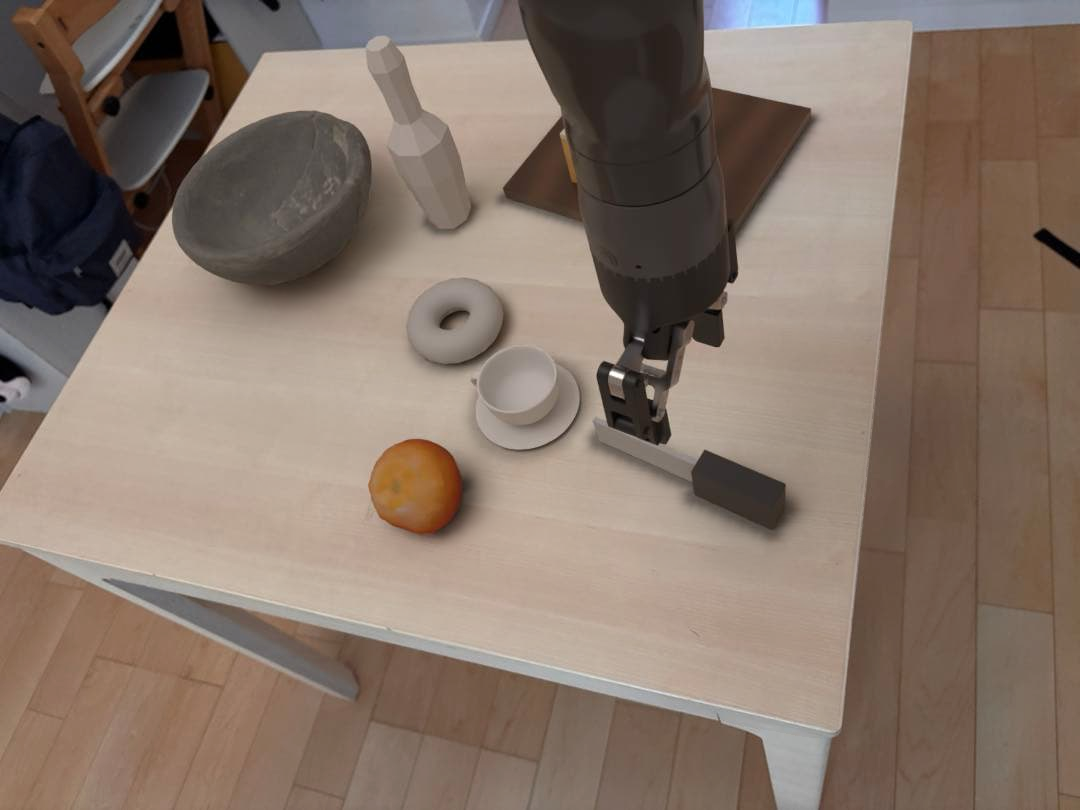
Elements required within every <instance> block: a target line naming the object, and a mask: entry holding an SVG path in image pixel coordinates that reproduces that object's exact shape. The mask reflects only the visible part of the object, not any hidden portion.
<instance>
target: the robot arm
mask: <svg viewBox="0 0 1080 810" xmlns="http://www.w3.org/2000/svg"><path fill="white" fill-rule="evenodd" d="M515 1H516V5H517V9H518V13H519V17H520V20H521V24H522V27H523V30H524V33H525V35H526V38H527V41H528V43H529V46H530V48H531V51H532V53H533V55H534V57H535V60H536V63H537V65H538V67H539V68H540V70H541V73H542V75H543V77H544V79H545V80H546V83H547V86H548V87H549V89H550V92H551V94H552V96H553V97H554V99H555V100H556V102H557V104H558V105H559V107H560V115H561V116H562V120H563V125H564V129H565V134H566V138H567V142H568V146H569V150H570V154H571V158H572V162H573V166H574V170H575V174H576V178H577V186H578V199H579V207H580V212H581V216H582V220H583V222H582V223H583V228H584V231H585V235H586V239H587V243H588V246H589V251H590V254H591V258H592V262H593V265H594V270H595V273H596V276H597V281H598V285H599V289H600V292H601V295H602V297H603V299H604V300H605V302H606V303H607V305H608V306H609V307H610V309H611V310H612V311H613V312H614V313H615V314H616V315H617V317H618V318H619V319H620V320H621V322H622V323H623V335H622V345H623V348H624V350H623V352H622V354H621V355H620V357H619V358H618V360H617V361H616V363H613V362H609V361H606V360H603V361H601V362H600V364H599V366H598V368H597V371H596V376H595V377H596V382H597V386H598V389H599V395H600V399H601V404H602V407H603V412H604V416H605V421H607V424H608V427H610V428H613V429H616V430H618V431H621V432H624V433H626V434H629V435H632V436H634V437H637V438H639V439H641V440H644V441H646V442H649V443H652V444H654V445H657V446H658V445H659V444H660V445H663V446H666V445H667V444H668V443H669V441H670V439H671V437H672V430H671V429H672V428H671V425H670V419H669V415H668V410H667V408H666V407H667V403H668V397H669V393H670V389H673V387H675V386H676V385H678V383H680V382H679V381H680V377H681V372H682V367H683V363H684V357H685V353H686V348H687V346H688V345H689V344H690V343H691V341H692V339H693V340H694V341H695V342H697V343H700V344H703V345H707V346H710V347H713V348H721V346H722V344H723V342H724V340H725V338H726V337H725V326H724V314H723V309H724V308H725V307H726V305H727V304H728V300H729V299H728V295H729V293H728V291H725V289H726V288H727V285H728V284H732V285H733V284H734V283H735V281H736V280H737V278H738V277H739V264H738V262H739V261H738V254H737V253H738V252H737V243H736V242H737V241H736V234H735V232H734V222H733V219H732V218H729V217H727V215H726V200H725V185H724V178H723V173H722V168H721V164H720V160H719V157H718V153H717V146H716V132H715V119H714V106H713V98H712V89H711V87H712V82H711V76H710V72H709V68H708V63H707V59H706V57H705V12H704V11H705V10H704V9H705V8H704V0H515ZM644 360H648V361H667V363H666V369H665V370H663V369H660V368H657V367H655V366H652V365H648V364H645V363H643V361H644ZM648 386H650V387H652V388H653V389H654V394H653V398H652V399H651V398H648V395H647V387H648Z"/></svg>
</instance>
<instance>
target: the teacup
mask: <svg viewBox="0 0 1080 810" xmlns="http://www.w3.org/2000/svg"><path fill="white" fill-rule="evenodd" d="M469 380H470V383H471V384H472V385H473V387H475V388H476V390H477V395H478V396H477V398H476V403H475V413H474V414H475V420H476V423H477V426H478V428H479V430H480V432H481V433H482V434H483V436H484V437H485V438H486V439H488V440H489V441H490V442H492V443H493V444H494V445H497V446H499V447H501V448H504V449H505V448H506V449H509V450H530V449H535V448H538V447H541V446H544V445H547V444H548V443H550V442H552V441H554V440H556V439H557V438H558V437H560V436H561V435H562V434H564V432H565V431H566V430H567V429H568V428H569V427H570V426H571V424H572V423H573V421H574V420H575V418H576V415H577V413H578V411H579V406H580V399H581V397H580V395H581V394H580V389H579V385H578V382H577V380H576V379H575V377H574V376H573V374H572V373H571V372H570V371H569V370H568V369H567V368H565V367H564V366H562V365H560V363H557V362H555V360H554V358H553V356H552V355H550V353H549V352H547V351H546V350H545V349H544V348H542V347H539V346H536V345H532V344H514V345H510V346H507V347H505V348H502V349H500V350H498V351H497V352H495V353H493V354H492V355H491V356H490V357H489V358H488V359H486V361H485V362H484V363H483V365H482V366H481V368H480V370H474V371H473V372H471V375H470V378H469Z"/></svg>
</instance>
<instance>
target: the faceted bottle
mask: <svg viewBox="0 0 1080 810" xmlns="http://www.w3.org/2000/svg"><path fill="white" fill-rule="evenodd" d="M365 55H366V65H367V69H368V72H369V73H370V75H371V77H372V79H373V80H374V82H375V83H376V85H377V88H378V89H379V90H380V92H381V94H382V96H383V98H384V101H385V103H386V105H387V107H388V109H389V111H390V114H391V116H392V118H393V123H392V126H391V128H390V132H389V135H388V139H387V141H386V149H387V151H388V153H389V154H390V156H391V159H392V162H393V163H394V166H395V167H396V169H397V171H398V174H399V176H400V177H401V179H402V180H403V182H404V183H405V185H406V187H407V188H408V190H409V191H410V192H411V194H412V196H413V197H414V199H415V200H416V202H417V204H418V205H419V207H420V208H421V209H422V211H423V213H424V214H425V216H426V217H427V219H428V220H429V222H431V224H433V225H434V226H435V227H436V228H437V229H439V230H455V229H456V228H458V227H459V226H460V225H462V224H464V223H465V222H466V221H467V220H468V217H469V215H470V212H471V210H472V204H471V199H470V196H469V191H468V186H467V182H466V177H465V173H464V169H463V164H462V159H461V156H460V153H459V150H458V147H457V146H456V142H455V140H454V137H453V135H452V131H451V130H450V126H449V125H448V124H447V123H446V122H445V121H443V120H442V119H441V118H439V117H438V116H437V115H435V114H434V113H431V112H430V111H427V110H425V109H424V108H423V107H422V104H421V102H420V100H419V97H418V94H417V92H416V90H415V88H414V85H413V82H412V79H411V75H410V72H409V68H408V64H407V61H406V58H405V55H404V54H403V52H401V51H400V49H399V48H398V47H397V46H396V44H395V43H394V41H393V40H392V39H391V38H390V37H388V36H387V35H376V36H374V37H373V38H371V39H370V40H368V42H367V43H366V46H365Z"/></svg>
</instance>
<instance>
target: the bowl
mask: <svg viewBox="0 0 1080 810" xmlns="http://www.w3.org/2000/svg"><path fill="white" fill-rule="evenodd" d="M365 137H366V136H364V134H363V132H362V131H361V130H360V129H359V128H358V127H357V126H356V125H355V124H353V123H352V122H349V121H347V120H343V119H341V118H338V117H336V116H335V115H333V114H331V113H328V112H323V111H318V110H295V111H294V110H293V111H286V112H281V113H279V114H278V113H277V114H273V115H270V116H266V117H263V118H261V119H258V120H256V121H254V122H251V123H249V124H247V125H245V126H243V127H241V128H239V129H237V130H236V131H233V132H232V133H231V134H229V135H228V136H225V137H224V138H223V139H222V140H221V141H219V142H218V143H216V144H215V145H213V146H212V147H211V148H210V149H209V150H208V151H207V152H206V153H205V154H204V155H202V156H201V157H200V158H199V160H197V162H196V163H194V165H193V166H192V167H191V169H190V170H189V172H188V173H187V174H186V175H185V176H184V177H183V179H182V181H181V183H180V185H179V187H178V189H177V191H176V193H175V196H174V199H173V203H172V209H171V210H172V211H171V212H172V213H171V224H172V231H173V235H174V238H175V240H176V243H177V245H178V246H179V249H181V251H183V253H184V254H185V255H186V256H187V257H188V258H189V259H190V260H191V261H192V262H193V263H195V265H197V266H198V267H200V268H201V269H202V270H205V271H206V272H208V273H210V274H211V275H214V276H216V277H218V278H221V279H224V280H225V281H229V282H232V283H233V282H234V283H238V284H243V285H250V286H276V285H280V284H283V283H287V282H290V281H293V280H296V279H299V278H302V277H305V276H306V275H309V274H310V273H313V272H315V271H316V270H318V269H320V268H321V267H323V266H324V265H325V264H327V263H328V262H329V261H331V260H332V259H333V258H335V257H336V256H337V255H338V254H339V253H340V252H341V251H342V250H343V249H344V248H345V246H347V245H348V243H349V242H350V241H351V239H352V238H353V237H354V235H355V233H356V232H357V230H358V229H359V227H360V225H361V223H362V219H363V218H364V214H365V211H366V209H367V204H368V201H369V195H370V192H371V187H372V175H373V173H372V171H373V169H372V168H373V167H372V165H373V164H372V163H373V162H372V155H371V150H370V147H369V144H368V141H367V139H366V138H365Z"/></svg>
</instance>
